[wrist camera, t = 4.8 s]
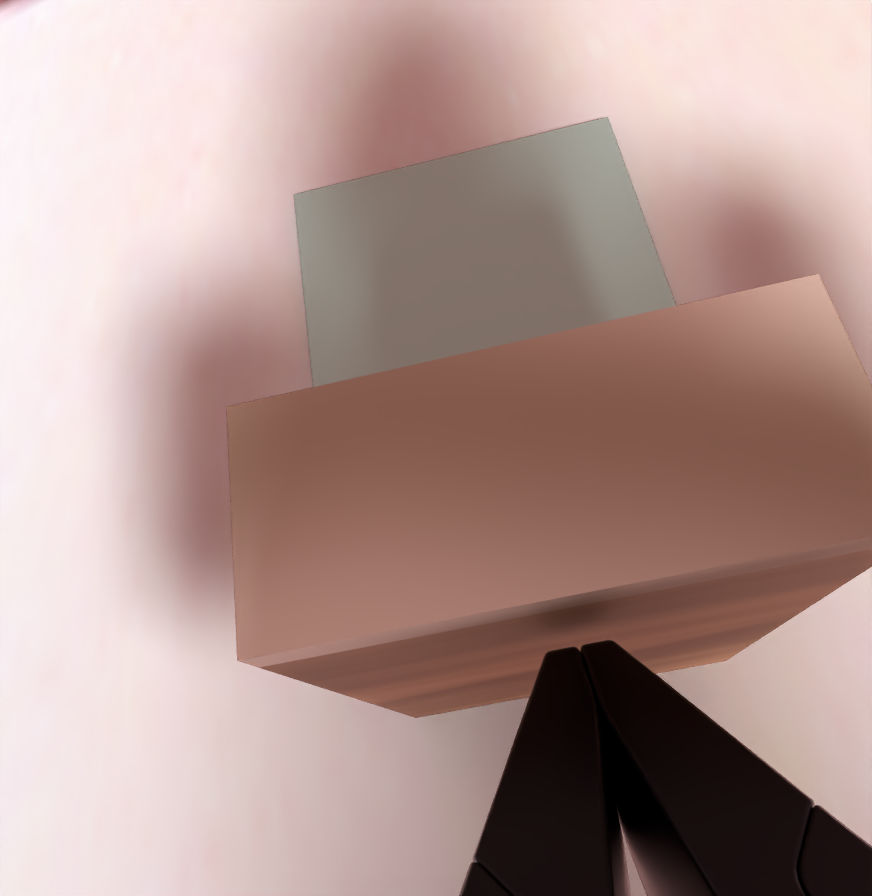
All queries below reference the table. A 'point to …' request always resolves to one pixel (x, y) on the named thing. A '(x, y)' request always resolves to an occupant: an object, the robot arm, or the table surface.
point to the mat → (474, 253)
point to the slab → (554, 501)
